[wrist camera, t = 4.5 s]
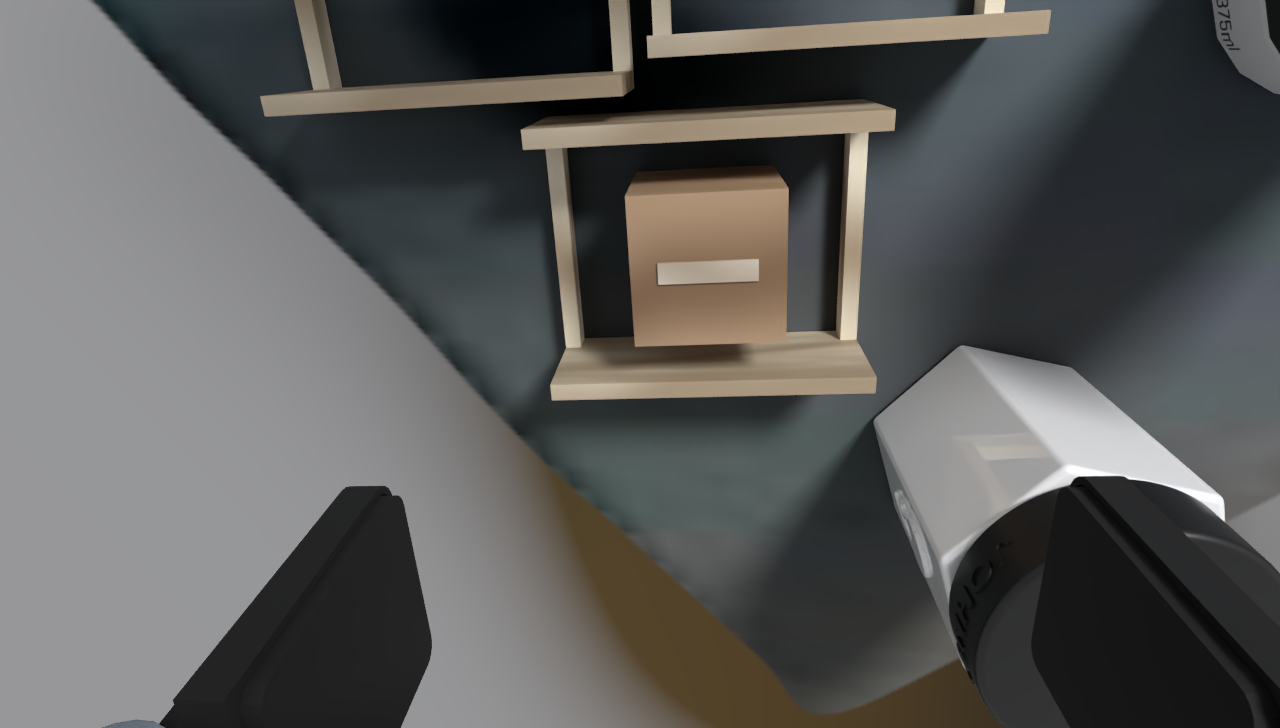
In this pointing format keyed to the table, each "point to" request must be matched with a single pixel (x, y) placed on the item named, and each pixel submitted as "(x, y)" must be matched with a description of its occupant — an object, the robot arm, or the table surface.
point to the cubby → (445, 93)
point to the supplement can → (1251, 38)
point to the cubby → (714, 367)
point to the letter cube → (708, 255)
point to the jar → (1025, 504)
